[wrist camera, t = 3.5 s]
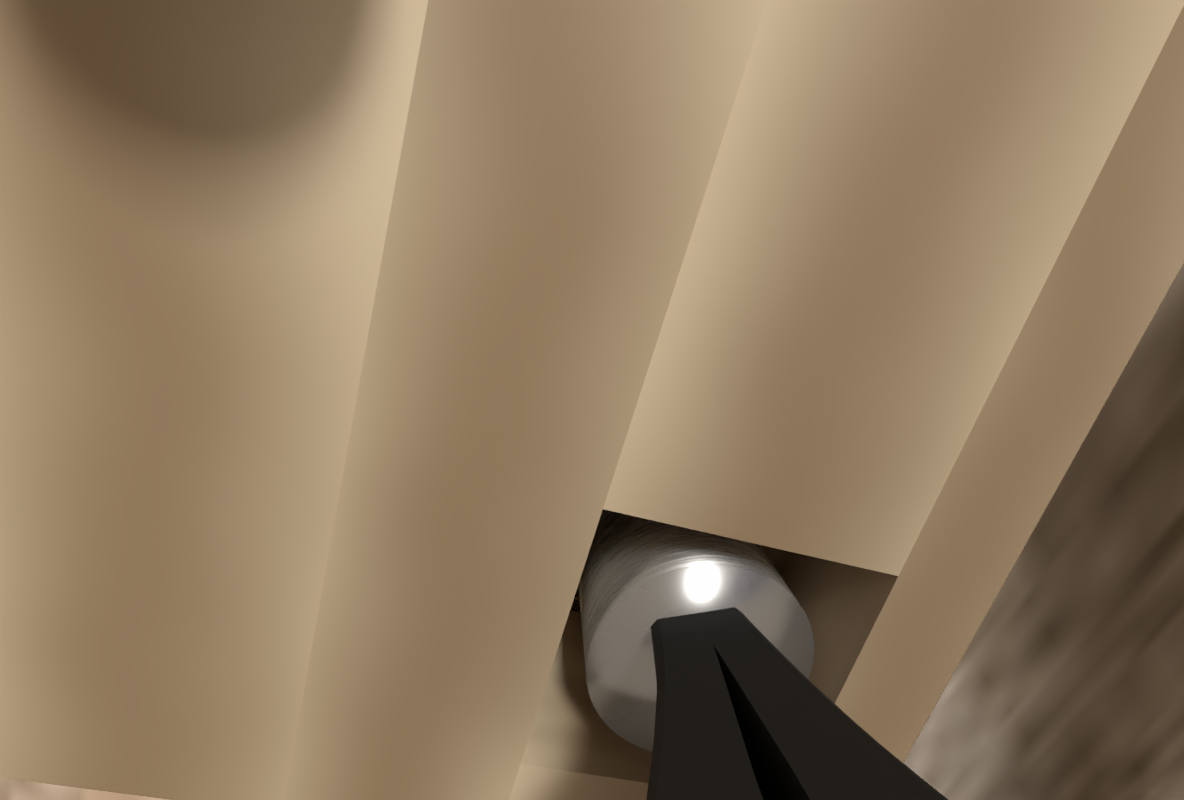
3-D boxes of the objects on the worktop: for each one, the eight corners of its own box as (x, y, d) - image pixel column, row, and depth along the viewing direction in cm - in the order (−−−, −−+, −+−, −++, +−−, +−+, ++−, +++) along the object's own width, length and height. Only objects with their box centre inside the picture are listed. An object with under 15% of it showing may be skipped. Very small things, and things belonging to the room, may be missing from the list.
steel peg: (764, 490, 12) (850, 592, 8) (708, 628, 13) (765, 770, 9) (602, 450, 11) (625, 542, 8) (556, 597, 12) (559, 737, 9)
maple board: (1136, -133, 9) (1552, -395, 5) (755, 705, 14) (834, 884, 10) (180, -593, 7) (-264, -1588, 3) (109, 590, 12) (-106, 764, 8)
